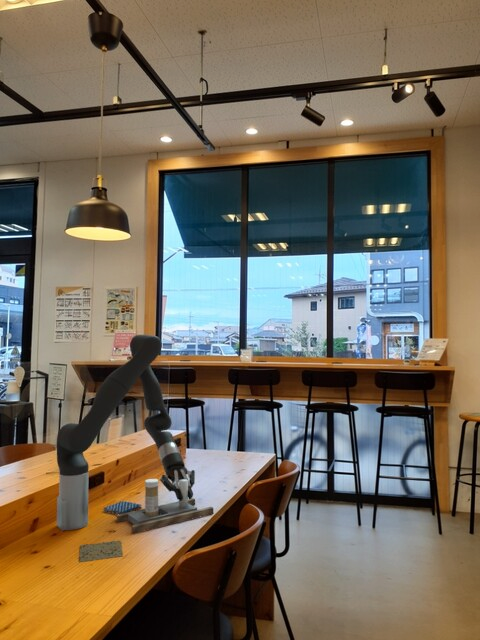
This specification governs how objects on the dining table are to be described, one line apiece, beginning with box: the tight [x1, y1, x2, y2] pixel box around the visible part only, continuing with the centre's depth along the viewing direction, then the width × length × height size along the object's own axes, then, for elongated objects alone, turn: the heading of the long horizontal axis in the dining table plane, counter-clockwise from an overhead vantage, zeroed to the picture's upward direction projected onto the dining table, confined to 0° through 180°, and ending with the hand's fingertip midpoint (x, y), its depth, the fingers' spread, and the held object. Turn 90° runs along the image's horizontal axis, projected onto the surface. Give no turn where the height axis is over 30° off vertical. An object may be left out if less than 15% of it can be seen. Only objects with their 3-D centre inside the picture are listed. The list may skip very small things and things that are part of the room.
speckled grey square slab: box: [78, 540, 124, 563], centre depth 136 cm, size 12×12×1 cm
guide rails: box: [116, 497, 214, 534], centre depth 164 cm, size 30×14×2 cm, turn 126°
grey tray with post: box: [127, 479, 198, 525], centre depth 164 cm, size 22×9×11 cm, turn 126°
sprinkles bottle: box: [144, 478, 159, 518], centre depth 161 cm, size 5×5×13 cm
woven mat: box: [102, 500, 143, 516], centre depth 172 cm, size 10×11×2 cm
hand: (186, 498), depth 167 cm, fingers closed on grey tray with post, 3 cm apart
